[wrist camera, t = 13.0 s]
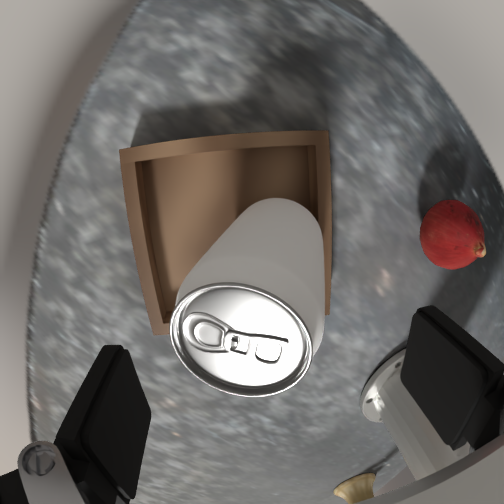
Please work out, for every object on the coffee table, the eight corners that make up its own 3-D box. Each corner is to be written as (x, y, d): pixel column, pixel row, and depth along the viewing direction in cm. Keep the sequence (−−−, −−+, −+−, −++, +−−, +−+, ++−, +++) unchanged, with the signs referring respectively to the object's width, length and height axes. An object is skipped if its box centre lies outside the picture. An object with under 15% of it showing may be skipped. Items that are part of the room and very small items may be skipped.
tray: (316, 132, 21) (328, 130, 19) (319, 300, 26) (329, 314, 23) (129, 149, 20) (119, 149, 18) (158, 319, 24) (153, 335, 22)
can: (241, 187, 21) (159, 251, 10) (332, 207, 20) (349, 297, 9) (229, 269, 23) (161, 378, 13) (310, 288, 23) (298, 416, 12)
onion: (415, 184, 23) (478, 200, 16) (454, 205, 24) (512, 225, 17) (394, 244, 25) (450, 278, 17) (434, 259, 26) (488, 292, 19)
